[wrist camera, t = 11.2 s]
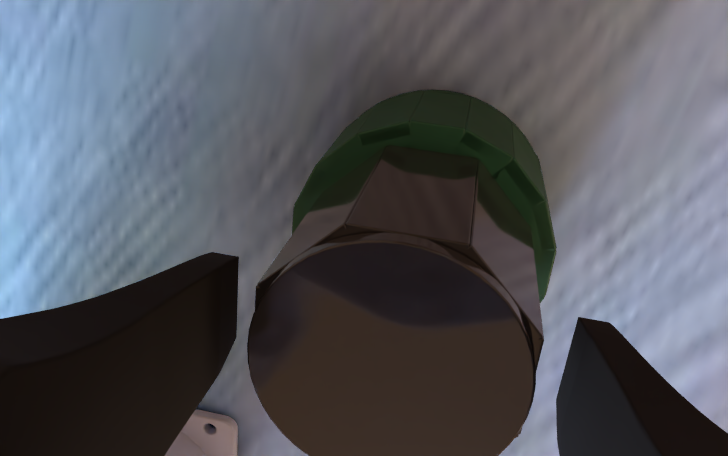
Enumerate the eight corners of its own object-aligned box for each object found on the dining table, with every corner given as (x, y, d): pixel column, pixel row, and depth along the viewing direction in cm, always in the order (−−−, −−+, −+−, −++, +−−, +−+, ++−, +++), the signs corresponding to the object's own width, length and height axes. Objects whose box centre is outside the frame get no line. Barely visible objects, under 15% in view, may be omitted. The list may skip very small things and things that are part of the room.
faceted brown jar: (309, 320, 19) (242, 456, 14) (324, 134, 17) (251, 216, 12) (503, 356, 18) (504, 512, 13) (545, 167, 16) (566, 270, 11)
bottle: (318, 274, 23) (256, 390, 17) (335, 74, 20) (267, 129, 14) (520, 310, 22) (528, 445, 16) (566, 107, 19) (596, 180, 13)
